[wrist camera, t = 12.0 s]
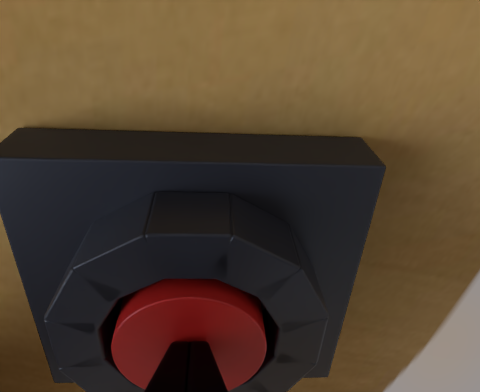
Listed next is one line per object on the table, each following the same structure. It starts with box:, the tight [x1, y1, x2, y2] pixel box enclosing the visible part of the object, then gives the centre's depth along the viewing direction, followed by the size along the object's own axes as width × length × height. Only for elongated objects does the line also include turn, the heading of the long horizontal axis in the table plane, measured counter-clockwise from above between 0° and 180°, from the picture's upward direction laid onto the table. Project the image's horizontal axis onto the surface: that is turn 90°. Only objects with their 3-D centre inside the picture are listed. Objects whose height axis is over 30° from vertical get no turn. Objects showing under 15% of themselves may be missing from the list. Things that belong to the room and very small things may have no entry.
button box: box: [0, 128, 386, 392], centre depth 11 cm, size 9×8×4 cm
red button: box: [111, 279, 267, 391], centre depth 10 cm, size 4×4×2 cm
